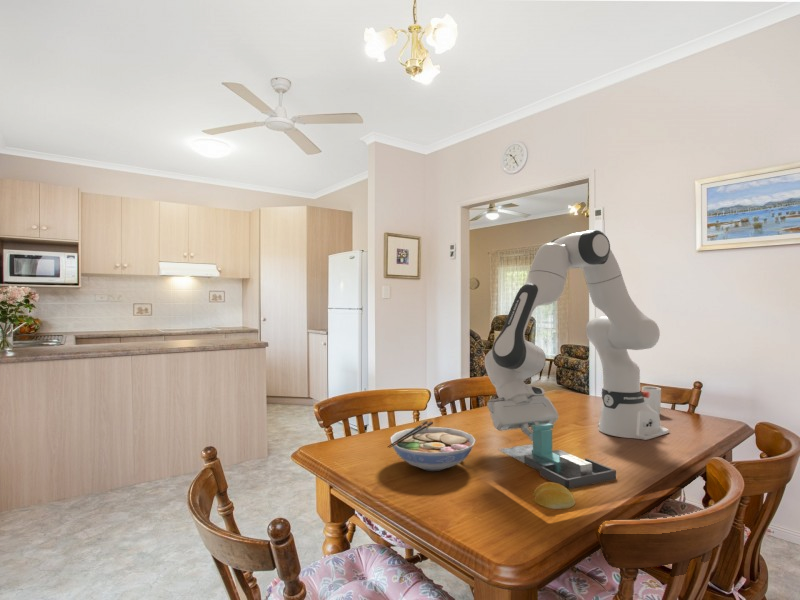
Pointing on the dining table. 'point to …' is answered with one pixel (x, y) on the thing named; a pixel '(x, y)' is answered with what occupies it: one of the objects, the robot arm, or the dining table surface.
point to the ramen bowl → (432, 446)
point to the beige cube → (566, 463)
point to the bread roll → (553, 496)
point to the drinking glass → (653, 398)
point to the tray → (597, 476)
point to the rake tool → (544, 444)
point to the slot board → (531, 457)
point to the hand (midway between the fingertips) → (537, 439)
